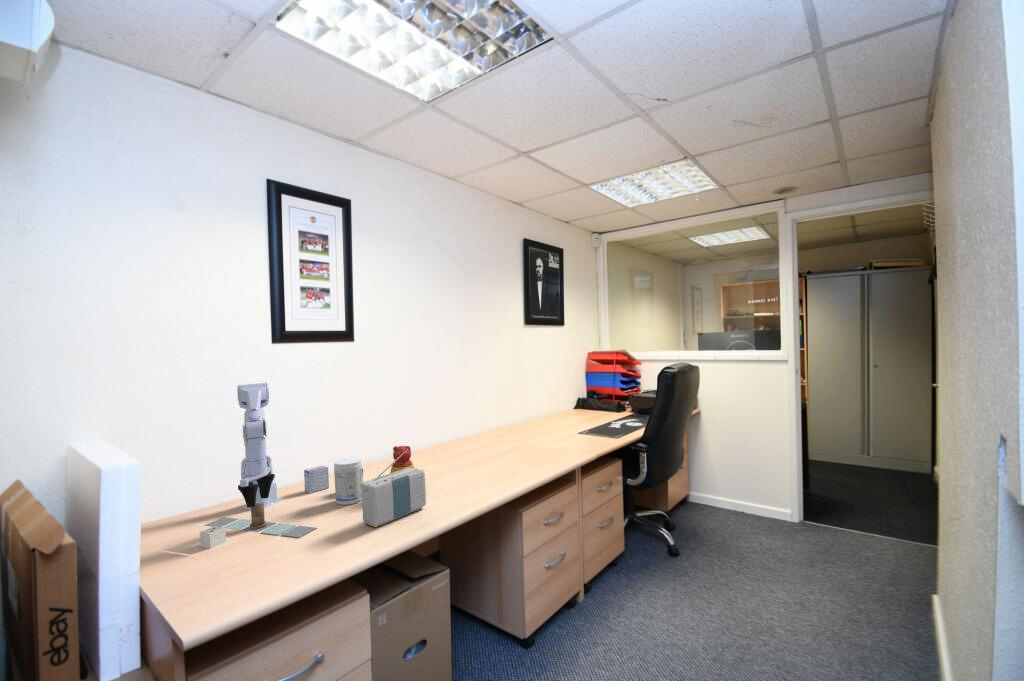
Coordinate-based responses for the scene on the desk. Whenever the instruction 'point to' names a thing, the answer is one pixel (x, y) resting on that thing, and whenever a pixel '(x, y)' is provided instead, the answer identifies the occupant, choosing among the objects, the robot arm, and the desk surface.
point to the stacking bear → (401, 458)
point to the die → (212, 537)
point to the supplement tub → (348, 480)
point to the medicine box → (316, 479)
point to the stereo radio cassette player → (393, 495)
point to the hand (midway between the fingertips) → (258, 502)
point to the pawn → (257, 516)
